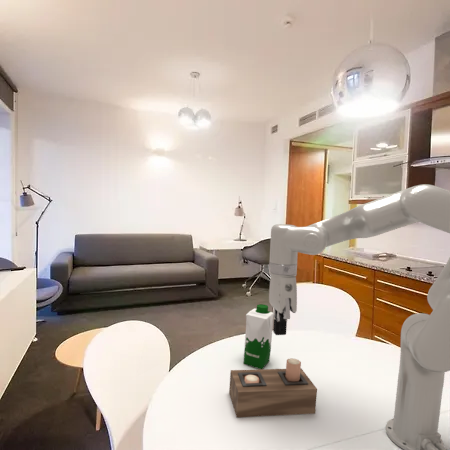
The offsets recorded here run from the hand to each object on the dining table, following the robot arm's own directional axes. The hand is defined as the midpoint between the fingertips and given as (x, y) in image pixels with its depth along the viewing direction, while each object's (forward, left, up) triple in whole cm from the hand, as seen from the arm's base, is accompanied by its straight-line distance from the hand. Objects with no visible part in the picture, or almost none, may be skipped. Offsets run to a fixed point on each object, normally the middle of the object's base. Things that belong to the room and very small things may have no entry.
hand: (279, 333), depth 92 cm
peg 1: (0, +7, -20) cm, 21 cm away
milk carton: (+23, -1, -21) cm, 31 cm away
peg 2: (0, -5, -15) cm, 16 cm away
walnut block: (0, +1, -20) cm, 20 cm away
